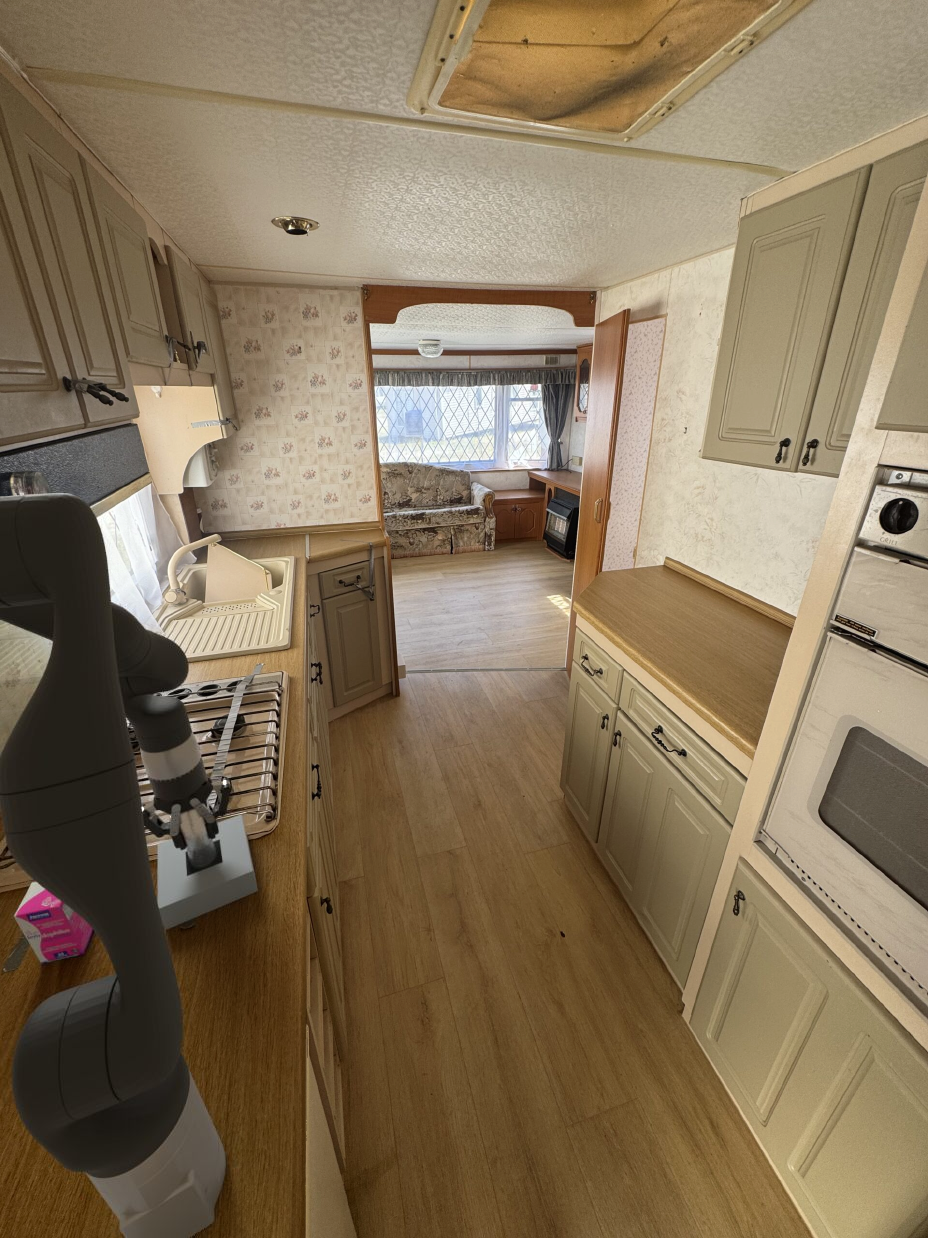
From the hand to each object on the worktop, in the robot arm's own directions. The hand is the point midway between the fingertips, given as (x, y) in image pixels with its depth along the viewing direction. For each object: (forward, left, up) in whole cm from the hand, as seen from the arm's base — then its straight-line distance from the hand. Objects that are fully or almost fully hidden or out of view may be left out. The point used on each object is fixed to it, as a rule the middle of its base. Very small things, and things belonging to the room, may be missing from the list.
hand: (198, 840), depth 85 cm
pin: (0, 0, -4) cm, 4 cm away
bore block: (0, 0, -9) cm, 9 cm away
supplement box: (-2, +20, -9) cm, 22 cm away
